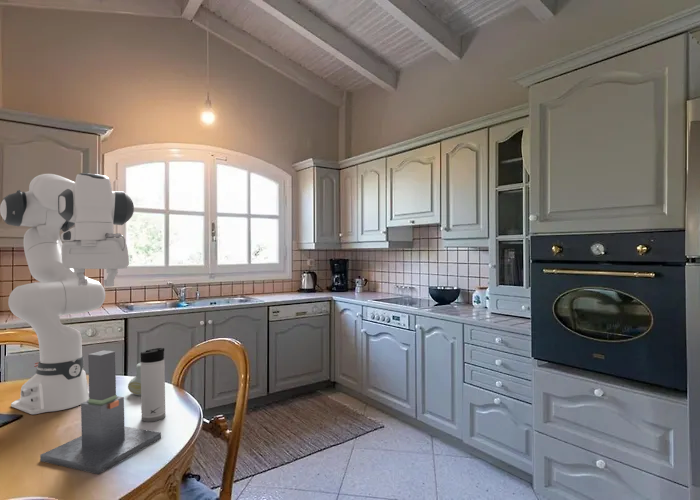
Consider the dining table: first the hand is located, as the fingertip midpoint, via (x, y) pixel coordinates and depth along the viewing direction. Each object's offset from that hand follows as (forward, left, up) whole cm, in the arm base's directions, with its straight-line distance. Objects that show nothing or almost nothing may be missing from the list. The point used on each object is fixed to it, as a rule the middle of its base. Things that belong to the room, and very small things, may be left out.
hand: (95, 285), depth 113 cm
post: (+10, -7, -32) cm, 34 cm away
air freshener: (-12, +28, -39) cm, 50 cm away
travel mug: (+7, +12, -39) cm, 42 cm away
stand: (+10, -7, -39) cm, 41 cm away
